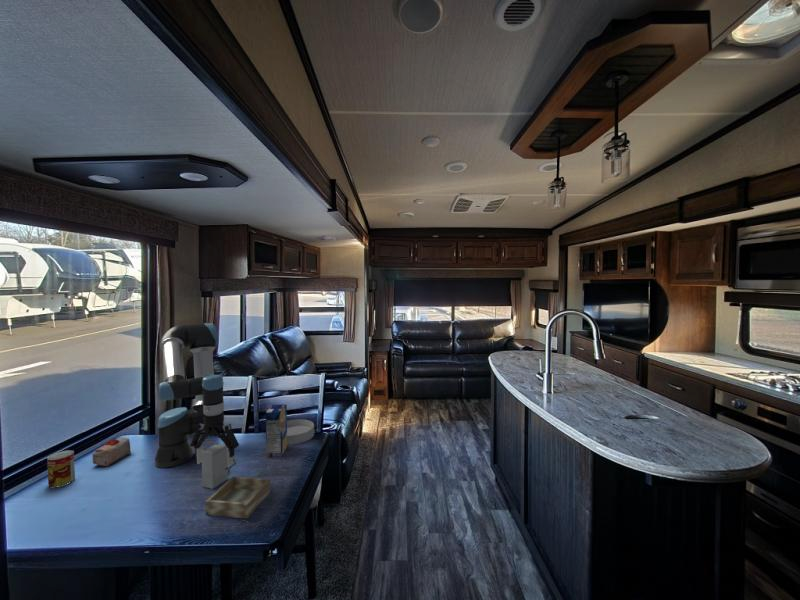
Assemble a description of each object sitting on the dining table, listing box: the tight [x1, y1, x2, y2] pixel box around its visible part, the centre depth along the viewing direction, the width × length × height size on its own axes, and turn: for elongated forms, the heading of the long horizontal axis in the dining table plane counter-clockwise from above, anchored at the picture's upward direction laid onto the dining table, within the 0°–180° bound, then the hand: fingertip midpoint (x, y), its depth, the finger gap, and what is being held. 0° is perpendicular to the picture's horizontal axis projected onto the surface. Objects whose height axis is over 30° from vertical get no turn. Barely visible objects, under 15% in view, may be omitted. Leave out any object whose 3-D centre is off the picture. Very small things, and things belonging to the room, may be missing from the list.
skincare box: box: [201, 443, 229, 490], centre depth 142 cm, size 8×6×15 cm
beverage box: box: [265, 403, 288, 459], centre depth 168 cm, size 7×11×22 cm, turn 4°
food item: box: [92, 437, 132, 467], centre depth 161 cm, size 14×8×10 cm, turn 177°
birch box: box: [205, 476, 271, 519], centre depth 129 cm, size 16×16×5 cm
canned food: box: [46, 449, 76, 488], centre depth 142 cm, size 8×8×12 cm
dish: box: [287, 418, 315, 446], centre depth 187 cm, size 22×22×5 cm
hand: (215, 463), depth 141 cm, fingers open, 13 cm apart
